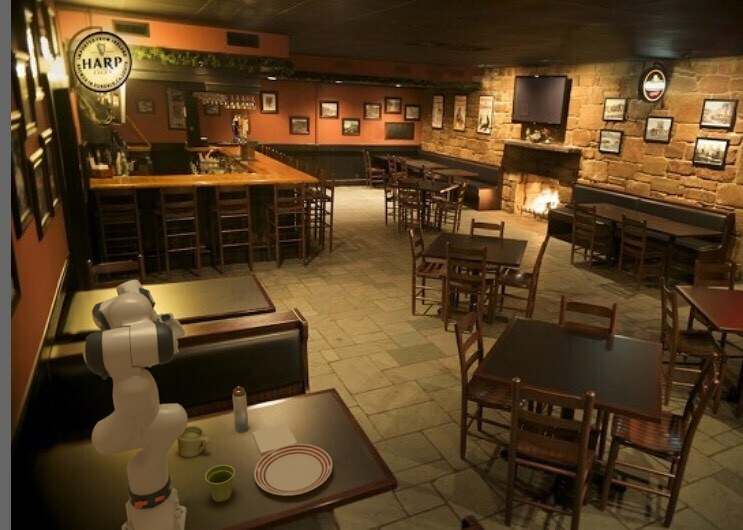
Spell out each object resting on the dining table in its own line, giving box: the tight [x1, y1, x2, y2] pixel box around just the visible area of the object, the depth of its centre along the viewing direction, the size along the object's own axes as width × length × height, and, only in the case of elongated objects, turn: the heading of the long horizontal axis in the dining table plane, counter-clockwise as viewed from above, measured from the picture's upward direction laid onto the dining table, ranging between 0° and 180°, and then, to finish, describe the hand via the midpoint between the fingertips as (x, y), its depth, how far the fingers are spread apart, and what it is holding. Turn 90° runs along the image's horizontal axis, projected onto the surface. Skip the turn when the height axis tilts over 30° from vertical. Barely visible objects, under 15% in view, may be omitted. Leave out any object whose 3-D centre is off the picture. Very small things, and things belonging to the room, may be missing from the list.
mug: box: [177, 425, 211, 458], centre depth 191 cm, size 12×10×10 cm
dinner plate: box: [253, 443, 333, 497], centre depth 181 cm, size 28×27×3 cm
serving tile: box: [252, 423, 298, 456], centre depth 199 cm, size 14×14×1 cm
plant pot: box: [204, 464, 235, 503], centre depth 169 cm, size 9×9×9 cm
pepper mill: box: [232, 385, 249, 434], centre depth 204 cm, size 5×5×20 cm
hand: (164, 359), depth 179 cm, fingers open, 8 cm apart
